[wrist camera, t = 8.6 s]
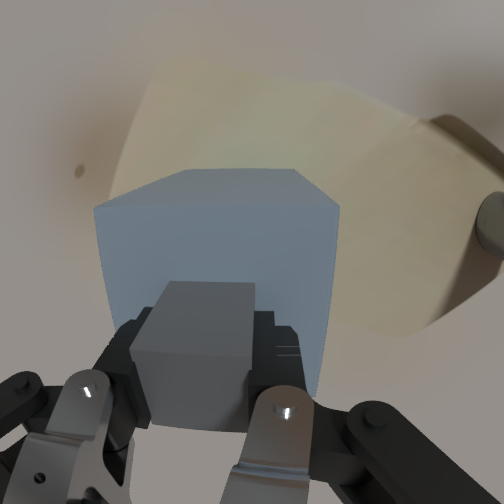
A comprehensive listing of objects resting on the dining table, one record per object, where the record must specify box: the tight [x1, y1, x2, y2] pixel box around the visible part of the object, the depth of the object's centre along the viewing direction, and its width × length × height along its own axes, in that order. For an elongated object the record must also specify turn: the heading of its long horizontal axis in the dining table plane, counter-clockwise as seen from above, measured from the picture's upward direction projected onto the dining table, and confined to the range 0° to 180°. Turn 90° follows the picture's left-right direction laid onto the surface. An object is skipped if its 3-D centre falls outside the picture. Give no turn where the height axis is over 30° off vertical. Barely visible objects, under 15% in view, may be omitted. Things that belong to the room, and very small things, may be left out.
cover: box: [93, 168, 340, 433], centre depth 16 cm, size 8×8×18 cm
